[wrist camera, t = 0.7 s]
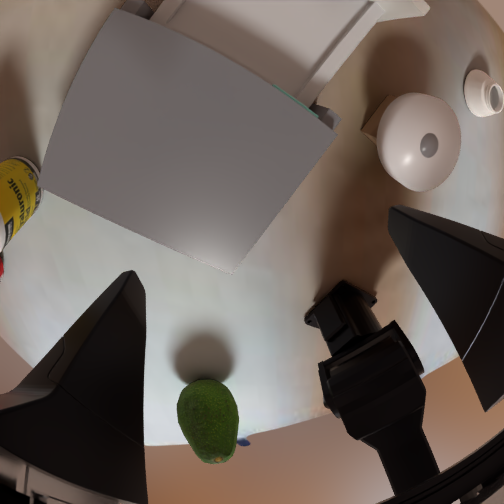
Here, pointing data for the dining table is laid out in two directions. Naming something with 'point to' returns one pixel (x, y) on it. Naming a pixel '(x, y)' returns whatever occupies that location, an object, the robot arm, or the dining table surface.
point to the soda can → (1, 270)
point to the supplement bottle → (17, 196)
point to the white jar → (482, 94)
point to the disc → (418, 141)
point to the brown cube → (376, 120)
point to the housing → (180, 141)
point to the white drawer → (284, 34)
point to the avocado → (209, 420)
